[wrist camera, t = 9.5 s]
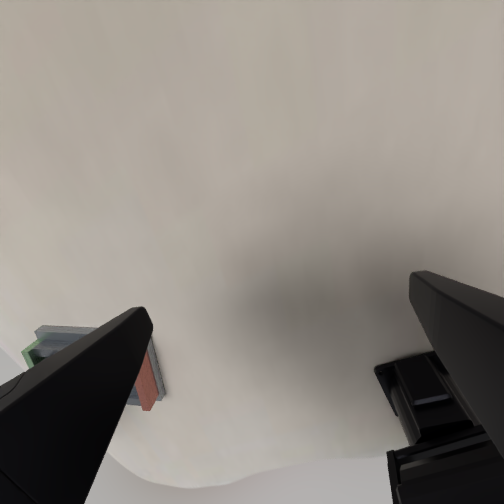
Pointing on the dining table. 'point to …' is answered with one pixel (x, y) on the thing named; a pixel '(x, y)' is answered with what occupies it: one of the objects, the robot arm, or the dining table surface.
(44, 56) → the dining table surface
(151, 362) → the grey rectangular tray
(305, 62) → the dining table surface
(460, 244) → the dining table surface
